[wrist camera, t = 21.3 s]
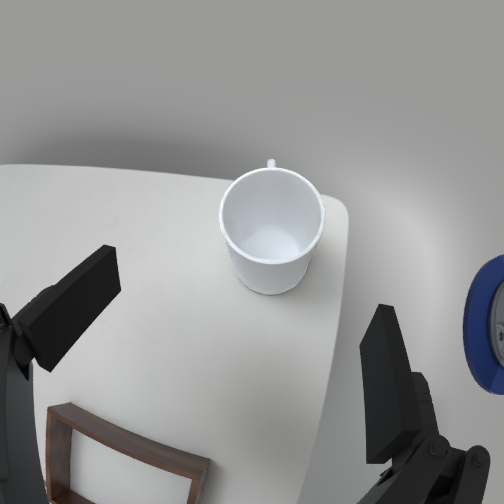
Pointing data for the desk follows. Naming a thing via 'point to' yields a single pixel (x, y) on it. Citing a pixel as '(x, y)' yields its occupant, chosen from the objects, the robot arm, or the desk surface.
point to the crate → (117, 439)
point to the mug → (271, 227)
